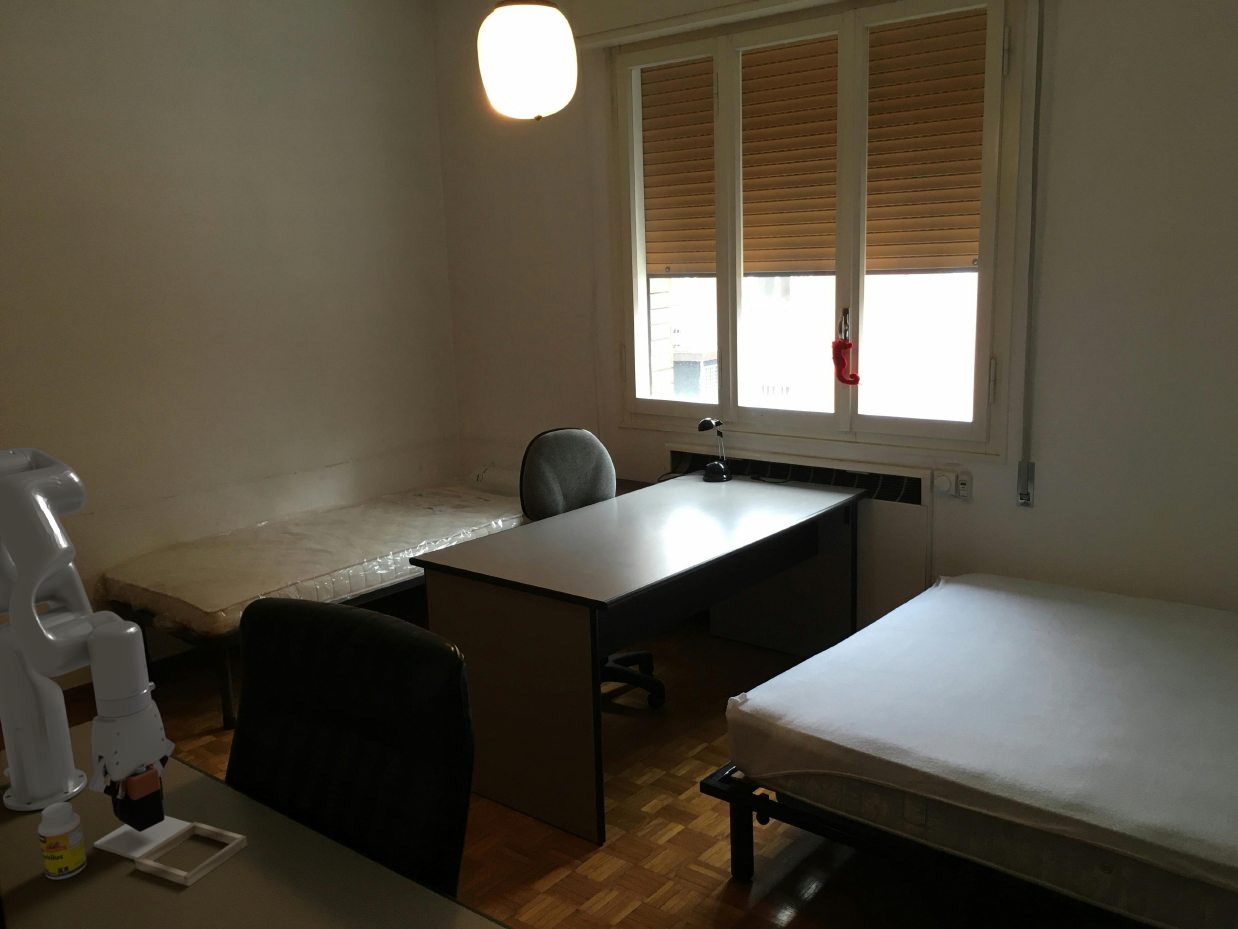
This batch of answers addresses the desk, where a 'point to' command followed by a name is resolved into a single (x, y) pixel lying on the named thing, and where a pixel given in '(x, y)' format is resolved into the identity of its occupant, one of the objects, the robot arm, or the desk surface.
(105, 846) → the ceramic pad
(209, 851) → the desk surface
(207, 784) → the desk surface
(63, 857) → the supplement bottle
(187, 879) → the holder frame
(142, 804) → the battery
